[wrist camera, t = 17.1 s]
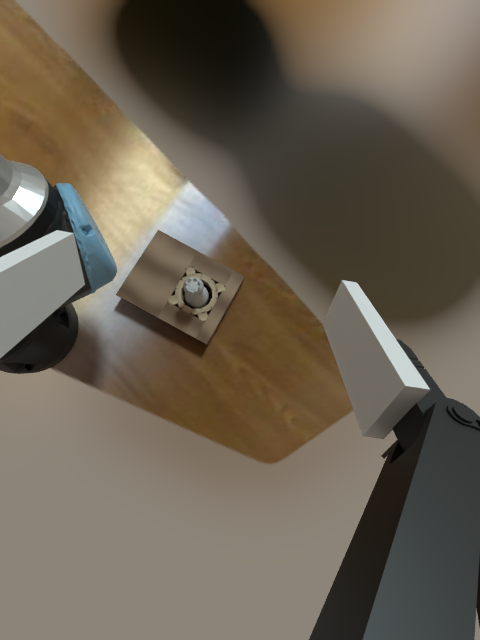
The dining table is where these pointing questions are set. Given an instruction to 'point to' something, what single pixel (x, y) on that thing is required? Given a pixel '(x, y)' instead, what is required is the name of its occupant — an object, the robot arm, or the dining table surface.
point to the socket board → (180, 286)
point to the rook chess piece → (195, 292)
